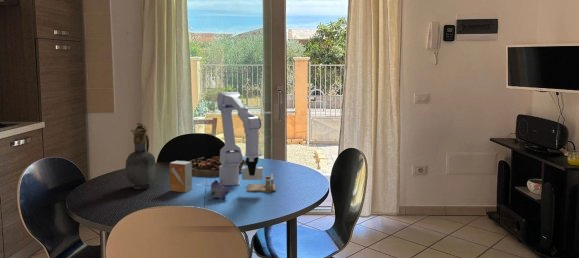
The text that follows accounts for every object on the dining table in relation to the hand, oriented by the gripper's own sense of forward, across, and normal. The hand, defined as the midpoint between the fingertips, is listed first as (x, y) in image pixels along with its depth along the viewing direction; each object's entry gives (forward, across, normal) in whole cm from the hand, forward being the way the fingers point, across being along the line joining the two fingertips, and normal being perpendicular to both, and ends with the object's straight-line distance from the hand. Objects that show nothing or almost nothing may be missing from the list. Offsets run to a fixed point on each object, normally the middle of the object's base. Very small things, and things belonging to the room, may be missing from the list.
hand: (252, 174), depth 216 cm
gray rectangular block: (+2, 0, 0) cm, 2 cm away
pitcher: (+9, +13, +52) cm, 54 cm away
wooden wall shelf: (+9, +8, -4) cm, 13 cm away
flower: (+9, -8, +14) cm, 19 cm away
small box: (+9, +6, +33) cm, 34 cm away
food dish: (+10, +48, +22) cm, 54 cm away
